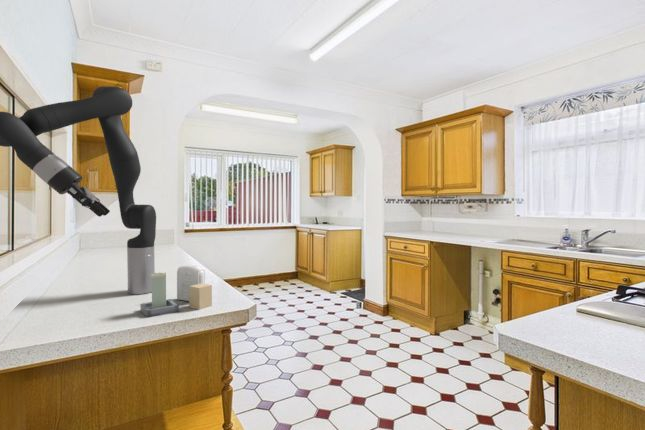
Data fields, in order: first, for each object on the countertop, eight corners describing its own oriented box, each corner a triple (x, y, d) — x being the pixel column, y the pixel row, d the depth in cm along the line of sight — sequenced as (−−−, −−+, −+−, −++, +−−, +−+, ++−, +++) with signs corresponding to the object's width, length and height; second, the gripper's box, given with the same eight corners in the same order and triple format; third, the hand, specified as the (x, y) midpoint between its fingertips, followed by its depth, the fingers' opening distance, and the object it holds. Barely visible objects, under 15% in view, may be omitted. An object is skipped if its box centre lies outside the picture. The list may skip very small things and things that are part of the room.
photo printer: (207, 300, 126) (206, 265, 125) (198, 303, 122) (198, 267, 121) (183, 297, 130) (183, 263, 129) (175, 300, 126) (174, 265, 125)
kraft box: (189, 307, 117) (189, 286, 117) (201, 303, 122) (201, 283, 121) (199, 309, 115) (199, 288, 115) (211, 306, 119) (211, 285, 119)
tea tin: (152, 307, 114) (151, 273, 114) (166, 306, 116) (166, 272, 115) (151, 311, 110) (151, 275, 110) (166, 309, 112) (166, 274, 112)
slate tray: (140, 310, 114) (140, 303, 114) (170, 305, 119) (170, 299, 119) (147, 317, 107) (147, 310, 107) (178, 311, 112) (178, 305, 112)
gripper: (62, 162, 97) (112, 205, 102) (74, 167, 110) (118, 205, 115) (38, 182, 95) (90, 224, 100) (54, 184, 108) (99, 221, 113)
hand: (105, 214), depth 107 cm, fingers open, 8 cm apart
